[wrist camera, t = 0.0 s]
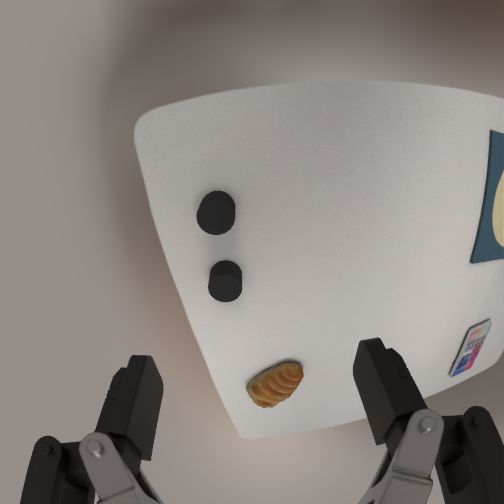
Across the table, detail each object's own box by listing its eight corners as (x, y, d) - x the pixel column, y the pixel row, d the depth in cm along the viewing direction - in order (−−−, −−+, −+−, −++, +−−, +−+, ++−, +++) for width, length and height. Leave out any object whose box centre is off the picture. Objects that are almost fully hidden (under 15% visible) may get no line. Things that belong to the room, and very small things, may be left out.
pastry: (280, 352, 39) (283, 372, 36) (313, 366, 41) (317, 385, 38) (242, 384, 42) (243, 403, 39) (275, 396, 44) (277, 414, 41)
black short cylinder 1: (198, 192, 28) (194, 201, 26) (233, 189, 28) (232, 197, 26) (203, 225, 30) (199, 236, 27) (236, 222, 30) (236, 233, 27)
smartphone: (493, 320, 39) (471, 367, 46) (491, 317, 40) (469, 365, 47) (470, 331, 40) (449, 379, 46) (467, 328, 41) (447, 376, 47)
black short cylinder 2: (208, 261, 32) (205, 275, 29) (240, 259, 32) (240, 273, 29) (212, 288, 34) (210, 303, 31) (243, 286, 34) (243, 301, 31)
